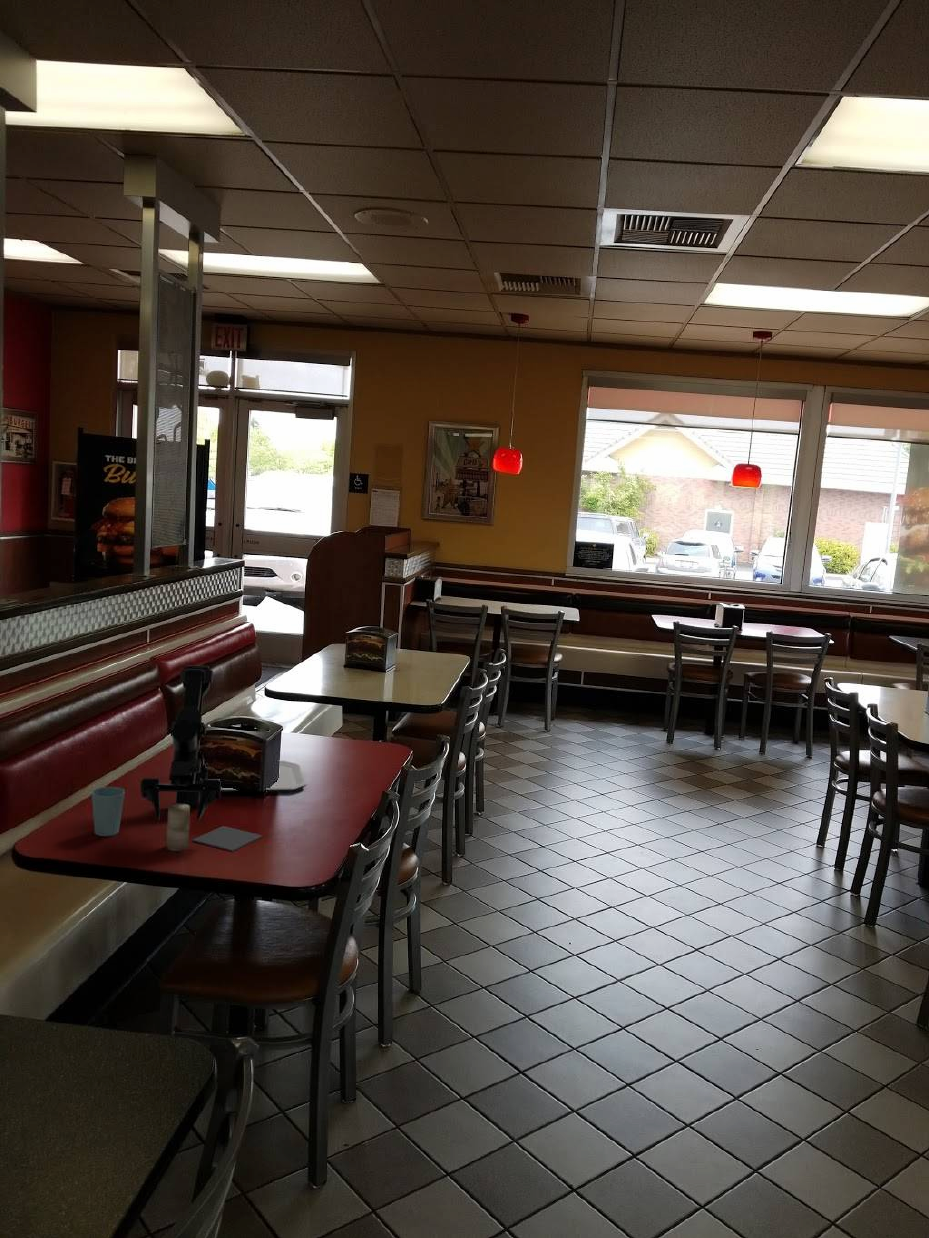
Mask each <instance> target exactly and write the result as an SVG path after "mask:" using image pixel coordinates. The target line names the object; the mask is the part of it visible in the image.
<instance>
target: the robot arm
mask: <svg viewBox="0 0 929 1238" xmlns="http://www.w3.org/2000/svg"><path fill="white" fill-rule="evenodd" d="M179 680H180V681H179V683H182V686H183V690H184V695H183V703H182V708H181V709H180V710H178V712H177V713H176V717H175V721H173V722H172V725H171V728H170V737H171V738H172V745H173V757H172V761H170V762H171V763H170V770H169V775H168V780H169V782H167V783H165V782H160V778H159V777H143V778H142V779H141V781H140V787H139V788H140V794H141V797H142V798H144V799H146V800H147V801H148V802H151V804H152V807H153V808H154V812H155V816H156V817H155V818H156V821H157V822H159V821H160V818H161V817H160V815H161V808H160V807H161V804H160V803H161V800H160V792H171V793H172V792H173V793H174V792H176V795H175V796H176V798H175V799H176V800H175V803H173V804H187V805H189V806H190V812H191V811H194V810H196V809H198V810H197V818H196V821H197V822H200V820H201V818H202V816H203V815H204V813H205V810H207V808H208V806H209V805H210V804H211V803H214V802H216V800H219V799H221V798H222V791H221V781H220V779H208V769H207V767H206V764H207V763H205V757H204V755H203V753H202V751H201V750H200V749H201V748H200V742H201V738H203V737H204V736H205V735H206V733H207V726H206V724H205V722H203V703H204V698H205V696H206V695H207V694H208V692H209V691H210V688H211V684H212V683H213V681H214V670H213V669H210V666H209V665H196V664H195V665H193V664H187V665H186V667H184V668H180V679H179Z"/></svg>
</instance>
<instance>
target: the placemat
mask: <svg viewBox="0 0 929 1238" xmlns="http://www.w3.org/2000/svg"><path fill="white" fill-rule="evenodd" d="M261 838H263V835H261V834H258V833H254V832H248V831H245V830H241V829H236V828H234V827H228V826H225V825H222V826H220V827H218V828H216V829H213V830H211V831H209V832H207V833H205V834H202V835H199V836H197V837H195V838H193V839H192V842H193V843H194V842H195V843H197V844H201V845H202V844H203V845H206V846H210V847H213V848H217V849H222V850H225V851H229V852H232V853H233V852H236V851H237V850H239V849H241V848H243V847H245V846H248V845H250V844H252V843H253V842H255V841H257V840H259V839H261Z"/></svg>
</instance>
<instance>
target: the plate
mask: <svg viewBox="0 0 929 1238" xmlns="http://www.w3.org/2000/svg"><path fill="white" fill-rule="evenodd" d="M279 761H280V773H279V778H278V780H277V782H275V783H274V784H273V785H272V786H271V787H270V788H266V791H267V792H266V793H288V792H293V791H296V790H298V789H301V788H305V787H306V786H307V781H306V780H305V779H306V778H305V776H304V773H303V771H302V768H301V765H300V764H299V763H294V762H291V761H287V760H279ZM233 791H238V790H236V789H233V788H222V787H221V793H222V792H223V793H227V792H233Z"/></svg>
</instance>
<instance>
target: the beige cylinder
mask: <svg viewBox="0 0 929 1238" xmlns="http://www.w3.org/2000/svg"><path fill="white" fill-rule="evenodd" d="M190 814H191V811H190V806H189V805H187V804H174V803H173V804H170V805H168V807H167V827H166V845H165V847H166V849H167V850H169V851H173V852H181V851H185V850H187V849H188V848H189V837H190V835H189V834H190V817H191V816H190Z"/></svg>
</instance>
